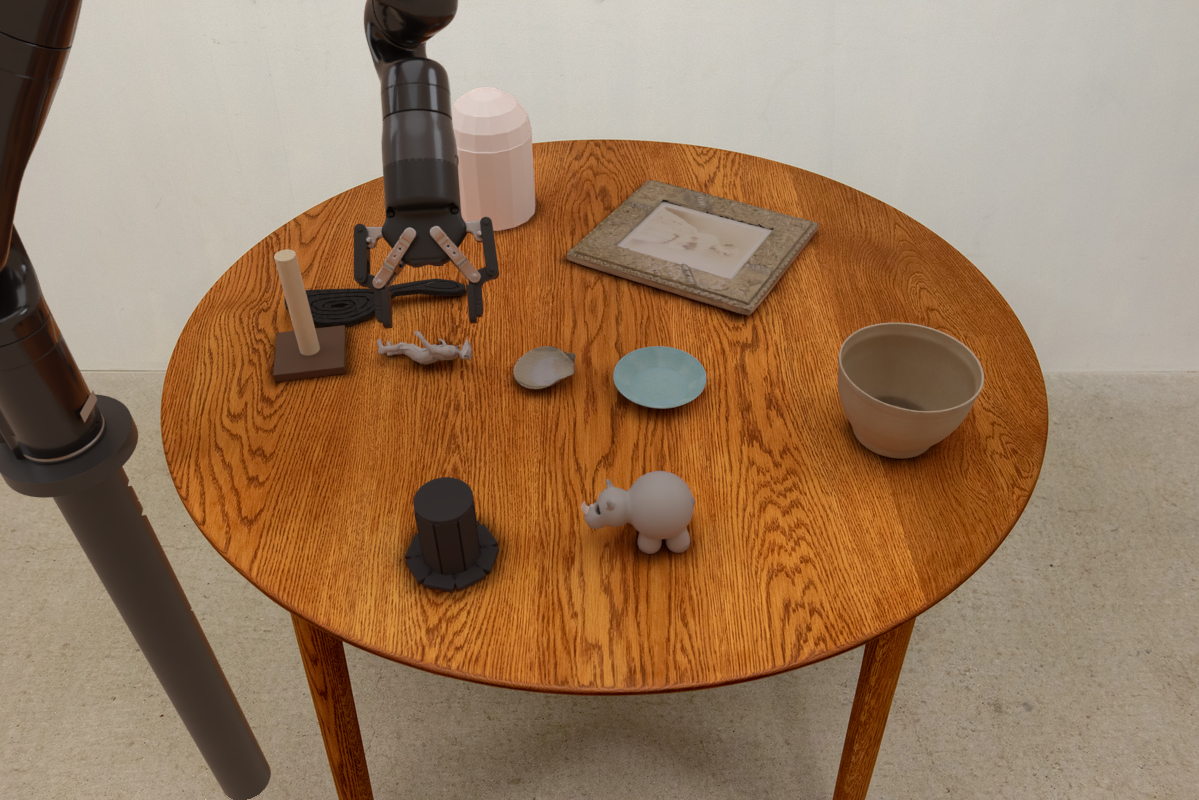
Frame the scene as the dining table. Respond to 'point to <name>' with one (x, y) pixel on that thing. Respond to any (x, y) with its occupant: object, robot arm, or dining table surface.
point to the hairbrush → (368, 300)
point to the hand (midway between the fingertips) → (431, 325)
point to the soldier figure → (426, 350)
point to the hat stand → (304, 332)
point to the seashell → (543, 367)
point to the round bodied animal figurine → (647, 510)
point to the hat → (449, 537)
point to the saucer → (659, 377)
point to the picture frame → (696, 245)
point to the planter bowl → (906, 386)
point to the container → (494, 158)
